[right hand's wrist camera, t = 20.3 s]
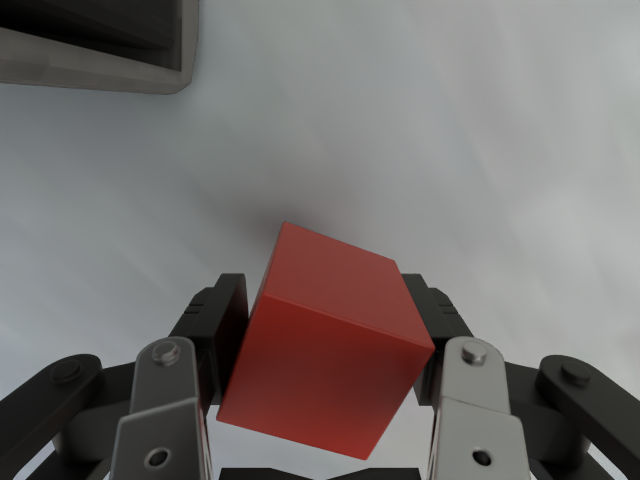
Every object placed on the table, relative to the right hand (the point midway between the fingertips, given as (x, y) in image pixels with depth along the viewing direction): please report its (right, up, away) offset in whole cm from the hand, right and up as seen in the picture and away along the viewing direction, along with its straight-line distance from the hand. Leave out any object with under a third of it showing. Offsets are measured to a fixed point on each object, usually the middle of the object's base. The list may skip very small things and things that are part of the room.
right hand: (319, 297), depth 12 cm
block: (0, 0, +1) cm, 1 cm away
